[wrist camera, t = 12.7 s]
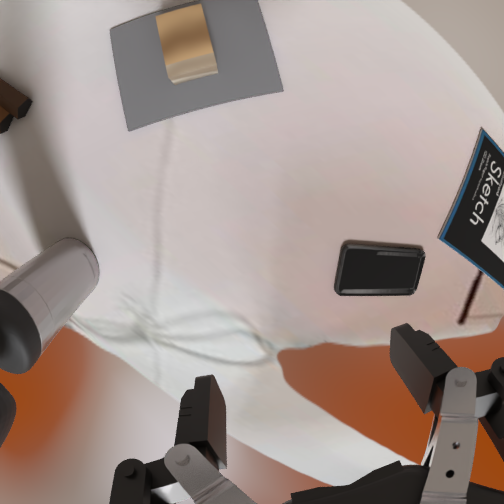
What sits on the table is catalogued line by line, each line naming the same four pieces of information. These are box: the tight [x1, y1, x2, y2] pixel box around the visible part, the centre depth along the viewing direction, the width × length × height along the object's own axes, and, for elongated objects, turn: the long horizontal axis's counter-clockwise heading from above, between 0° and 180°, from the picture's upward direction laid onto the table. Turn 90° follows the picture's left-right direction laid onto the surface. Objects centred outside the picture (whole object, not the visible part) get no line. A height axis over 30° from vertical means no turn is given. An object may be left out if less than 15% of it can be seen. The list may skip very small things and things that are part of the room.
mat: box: [110, 0, 284, 131], centre depth 30 cm, size 20×16×1 cm
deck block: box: [155, 4, 218, 85], centre depth 28 cm, size 9×6×4 cm, turn 13°
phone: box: [334, 244, 425, 296], centre depth 42 cm, size 8×1×15 cm
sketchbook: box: [438, 129, 504, 289], centre depth 41 cm, size 22×30×2 cm
